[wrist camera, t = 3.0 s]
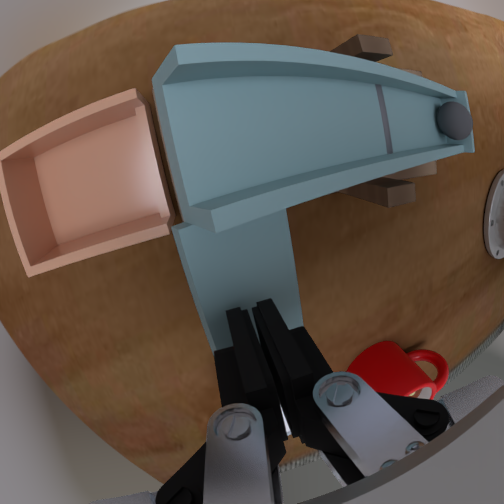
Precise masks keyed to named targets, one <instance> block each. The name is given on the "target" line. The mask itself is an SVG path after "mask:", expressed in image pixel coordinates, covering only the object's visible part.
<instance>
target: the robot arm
mask: <svg viewBox="0 0 504 504" xmlns="http://www.w3.org/2000/svg"><path fill="white" fill-rule="evenodd" d="M484 240H485V245H486V249H487V251H488V253H489V254H490V255H491V256H492V257H494V258H496V259H502V258H504V169H503V170H502V171H500V172H499V173H498V175H497V176H496V178H495V179H494V181H493V183H492V186H491V188H490V192H489V195H488V199H487V203H486V209H485V217H484ZM256 304H257V306H256V307H252V312H253V316H254V320H255V324H256V328H257V332H258V336H259V340H258V337H257V334H256V332H255V329H254V326H253V324H252V321H251V318H250V315H249V313H248V310H247V309H245V310H241V308H240V307H237V308H233V309H229V310H225V311H226V316H227V320H228V324H229V329H230V333H231V337H232V342H233V346H231V347H227V348H223V349H219V350H215V351H214V359H215V366H216V372H217V379H218V385H219V392H220V398H221V404H222V408H220V409H219V410H217V411H216V412H215V413H214V414H213V415H212V416H211V418H210V419H209V422H208V426H207V440H206V442H205V443H204V444H203V446H202V447H201V448H200V449H199V450H198V451H197V452H196V453H195V454H194V455H193V456H192V457H191V458H190V459H189V460H188V461H187V462H186V463H185V464H184V465H183V466H182V467H181V468H180V469H179V470H178V471H177V472H176V473H175V474H174V475H173V476H172V477H171V478H170V479H169V480H168V481H167V482H166V483H165V484H164V485H163V486H162V487H161V488H160V489H159V491H157V492H153V493H150V492H149V491H145V492H141V493H136V494H132V495H127V496H121V497H116V498H110V499H103V500H96V501H93V502H91V503H90V504H284V500H283V492H282V485H281V477H280V470H279V465H278V464H279V462H280V461H281V460H282V458H283V457H284V455H285V454H286V450H285V446H284V442H283V441H285V440H288V436H287V432H286V427H285V423H284V419H283V415H282V411H283V413H284V416H285V418H286V421H287V424H288V426H289V429H290V431H291V434H292V436H293V438H295V437H298V436H299V437H300V440H301V442H302V444H303V443H305V444H306V446H307V447H311V448H314V449H317V450H318V452H319V454H320V456H321V457H322V459H323V460H324V461H325V463H326V464H327V466H328V467H329V468H330V470H331V471H332V473H333V474H334V475H335V477H336V478H337V479H338V481H339V482H340V483H341V485H342V486H343V488H341V489H338V490H336V491H333V492H330V493H328V494H325V495H322V496H319V497H317V498H313V499H310V500H307V501H304V502H301V503H298V504H504V382H503V381H502V379H501V378H498V377H496V376H490V375H489V376H486V377H483V378H481V379H479V380H477V381H475V382H473V383H471V384H468V385H466V386H464V387H462V388H459V389H457V390H455V391H453V392H450V393H448V394H445V395H443V396H441V398H440V400H437V401H434V400H431V399H423V398H415V397H407V396H400V395H393V394H387V393H380V392H375V391H374V390H373V389H372V388H371V387H370V386H369V385H368V384H367V383H366V382H365V381H364V380H363V379H362V378H360V377H359V376H357V375H356V374H353V373H350V372H334V373H333V371H332V369H331V368H330V366H329V365H328V363H327V362H326V360H325V359H324V357H323V355H322V354H321V352H320V351H319V349H318V348H317V346H316V344H315V343H314V341H313V340H312V338H311V337H310V335H309V334H308V332H307V330H306V329H305V328H304V326H300V327H297V328H294V329H290V330H289V329H288V327H287V325H286V323H285V322H284V320H283V318H282V316H281V314H280V313H279V311H278V309H277V307H276V305H275V304H274V302H273V300H272V298H269V299H266V300H262V301H259V302H256ZM259 341H260V343H259ZM280 405H281V406H280ZM281 408H282V411H281Z"/></svg>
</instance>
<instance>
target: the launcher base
mask: <svg viewBox="0 0 504 504" xmlns="http://www.w3.org/2000/svg"><path fill="white" fill-rule="evenodd" d="M330 52H333V53H338V54H343V55H348V56H352V57H357V58H361V59H365V60H369V61H373V62H376V61H379V60H381V59H384V58H387V57H389V56H392V55H393V53H392V49H391V46H390V42H389V39H388V38H381V37H375V36H367V35H359V34H357V35H356V36H354V37H352V38H351V39H349V40H347V41H346V42H344V43H343V44H341V45H340V46H338V47H336V48H335V49H333V50H332V51H330ZM397 69H399V68H397ZM400 70H403V71H406V72H409V73H412V74H415V75H417V76H420V77H422V73H421V71H414V70H407V69H400ZM152 92H153V97H154V102H155V107H156V112H157V117H158V122H159V127H160V131H161V136H162V141H163V145H164V150H165V154H166V158H167V163H168V167H169V171H170V175H171V179H172V183H173V187H174V191H175V195H176V199H177V203H178V207H179V211H180V214H181V218H182V222H184V220H183V216H182V212H181V208H180V205H179V201H178V197H177V193H176V189H175V185H174V181H173V177H172V173H171V169H170V164H169V160H168V156H167V151H166V147H165V142H164V138H163V133H162V129H161V124H160V119H159V114H158V109H157V104H156V99H155V94H154V89H152ZM432 174H437V168H436V160H435V161H431V162H428V163H425V164H421V165H418V166H415V167H411V168H408V169H405V170H401V171H398V172H395V174H390V175H385V176H382V177H379V178H376V179H373V180H369V181H366V182H363V183H360V184H357V185H354V186H351V187H348V188H345V189H342V190H339V191H335V192H340V193H344V194H347V195H350V196H354V197H357V198H360V199H363V200H366V201H370V202H373V203H376V204H379V205H382V206H385V207H388V208H389V207H394V206H398V205H402V204H406V203H410V202H415V201H416V195H415V183H413V182H408V181H403V179H409V178H414V177H420V176H426V175H432ZM335 192H332V193H335ZM329 194H330V193H329Z"/></svg>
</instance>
